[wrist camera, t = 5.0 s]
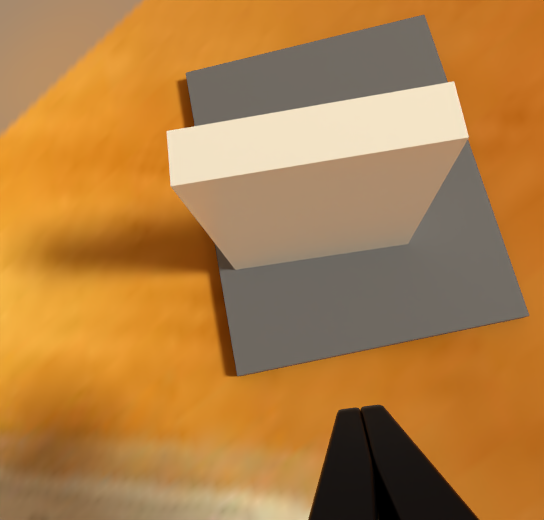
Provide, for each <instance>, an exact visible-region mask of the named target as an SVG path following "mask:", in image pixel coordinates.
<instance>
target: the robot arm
mask: <svg viewBox="0 0 544 520" xmlns="http://www.w3.org/2000/svg"><path fill="white" fill-rule="evenodd" d="M308 520H479V519H478V518H477V516H476V515H475V514H474V513H473V512H472V510H471V509H470V508H469V507H468V506H467V505H466V503H465V502H464V501H463V500H462V499H461V497H460V496H459V495H458V494H457V493H456V492H455V490H454V489H453V488H452V487H451V486H450V485H449V483H448V482H447V481H446V480H445V479H444V477H443V476H442V475H441V474H440V473H439V472H438V470H437V469H436V468H435V467H434V466H433V464H432V463H431V462H430V461H429V460H428V459H427V457H426V456H425V455H424V454H423V453H422V451H421V450H420V449H419V448H418V447H417V446H416V444H415V443H414V442H413V441H412V440H411V438H410V437H409V436H408V435H407V434H406V433H405V431H404V430H403V429H402V428H401V427H400V425H399V424H398V423H397V422H396V421H395V420H394V418H393V417H392V416H391V415H390V414H389V412H388V411H387V410H386V409H385V408H384V407H383V406H381V405H372V406H364V407H362V408H361V410H360V409H359V408H348V409H341V410H339V411H338V413H337V416H336V419H335V423H334V427H333V430H332V434H331V438H330V441H329V445H328V449H327V453H326V456H325V460H324V464H323V467H322V471H321V475H320V478H319V482H318V486H317V489H316V493H315V497H314V500H313V504H312V508H311V512H310V515H309V519H308Z"/></svg>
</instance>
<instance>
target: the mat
mask: <svg viewBox="0 0 544 520" xmlns="http://www.w3.org/2000/svg"><path fill="white" fill-rule="evenodd" d="M186 78H187V83H188V89H189V95H190V101H191V107H192V113H193V119H194V125H195V126H199V125H205V124H211V123H217V122H222V121H228V120H234V119H240V118H246V117H251V116H257V115H263V114H269V113H274V112H280V111H286V110H292V109H298V108H303V107H309V106H315V105H321V104H327V103H332V102H338V101H344V100H350V99H355V98H361V97H367V96H373V95H379V94H384V93H390V92H396V91H402V90H407V89H413V88H419V87H425V86H431V85H436V84H442V83H448V81H447V79H446V76H445V73H444V70H443V67H442V64H441V61H440V59H439V56H438V53H437V50H436V47H435V44H434V41H433V39H432V36H431V33H430V30H429V27H428V24H427V21H426V18H425V16H424V15H421V16H417V17H413V18H409V19H404V20H400V21H396V22H392V23H388V24H384V25H380V26H376V27H372V28H368V29H363V30H359V31H355V32H351V33H347V34H343V35H339V36H335V37H331V38H327V39H323V40H318V41H314V42H310V43H306V44H302V45H298V46H294V47H290V48H286V49H282V50H277V51H273V52H269V53H265V54H261V55H257V56H253V57H249V58H245V59H241V60H236V61H232V62H228V63H224V64H220V65H216V66H212V67H208V68H204V69H200V70H195V71H191V72H187V73H186ZM215 248H216V254H217V260H218V266H219V271H220V277H221V283H222V289H223V295H224V301H225V307H226V313H227V318H228V324H229V330H230V336H231V342H232V348H233V354H234V360H235V365H236V371H237V376H244V375H249V374H253V373H258V372H263V371H268V370H273V369H278V368H282V367H287V366H292V365H297V364H302V363H307V362H311V361H316V360H321V359H326V358H331V357H336V356H340V355H345V354H350V353H355V352H360V351H364V350H369V349H374V348H379V347H384V346H389V345H393V344H398V343H403V342H408V341H413V340H418V339H422V338H427V337H432V336H437V335H442V334H447V333H451V332H456V331H461V330H466V329H471V328H476V327H480V326H485V325H490V324H495V323H500V322H505V321H509V320H514V319H519V318H524V317H527V316H529V313H528V310H527V307H526V305H525V302H524V299H523V296H522V293H521V290H520V287H519V285H518V282H517V279H516V276H515V273H514V270H513V267H512V264H511V262H510V259H509V256H508V253H507V250H506V247H505V244H504V242H503V239H502V236H501V233H500V230H499V227H498V224H497V222H496V219H495V216H494V213H493V210H492V207H491V204H490V202H489V199H488V196H487V193H486V190H485V187H484V184H483V182H482V179H481V176H480V173H479V170H478V167H477V164H476V162H475V159H474V156H473V153H472V150H471V147H470V144H469V141H468V140H467V141H466V143H465V145H464V147H463V148H462V150H461V152H460V154H459V155H458V157H457V159H456V161H455V162H454V164H453V166H452V168H451V169H450V171H449V173H448V175H447V176H446V178H445V180H444V182H443V183H442V185H441V187H440V189H439V191H438V192H437V194H436V196H435V198H434V199H433V201H432V203H431V205H430V206H429V208H428V210H427V212H426V213H425V215H424V217H423V219H422V220H421V222H420V224H419V226H418V227H417V229H416V231H415V233H414V234H413V236H412V238H411V240H410V241H409V243H408V244H405V245H398V246H392V247H385V248H378V249H371V250H365V251H358V252H351V253H345V254H338V255H331V256H325V257H318V258H311V259H305V260H298V261H291V262H284V263H278V264H271V265H264V266H258V267H251V268H244V269H238V270H235V269H234V267H233V266H232V265H231V264H230V262H229V261H228V260H227V258H226V257H225V256H224V254H223V253H222V252H221V251H220V249H219V248H218V247H217V245H216V244H215Z"/></svg>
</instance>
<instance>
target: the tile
mask: <svg viewBox="0 0 544 520" xmlns="http://www.w3.org/2000/svg"><path fill="white" fill-rule="evenodd" d="M468 138H469V136H468V132H467V129H466V125H465V121H464V117H463V114H462V110H461V106H460V102H459V98H458V95H457V91H456V87H455V83H454V82H448V83H442V84H436V85H431V86H425V87H419V88H413V89H407V90H402V91H396V92H390V93H384V94H379V95H373V96H367V97H361V98H355V99H350V100H344V101H338V102H332V103H327V104H321V105H315V106H309V107H303V108H298V109H292V110H286V111H280V112H274V113H269V114H263V115H257V116H251V117H246V118H240V119H234V120H228V121H222V122H217V123H211V124H205V125H199V126H194V127H188V128H182V129H176V130H170V131H167V141H168V155H169V169H170V183H171V187H172V189H173V190H174V191H175V192H176V194H177V195H178V196H179V198H180V199H181V200H182V201H183V203H184V204H185V205H186V207H187V208H188V209H189V211H190V212H191V213H192V214H193V216H194V217H195V218H196V220H197V221H198V222H199V223H200V225H201V226H202V227H203V229H204V230H205V231H206V232H207V234H208V235H209V236H210V238H211V239H212V240H213V242H214V243H215V244H216V245H217V247H218V248H219V249H220V251H221V252H222V253H223V254H224V256H225V257H226V258H227V260H228V261H229V262H230V264H231V265H232V266H233V267H234V269H235V270H238V269H244V268H251V267H258V266H264V265H271V264H278V263H284V262H291V261H298V260H305V259H311V258H318V257H325V256H331V255H338V254H345V253H351V252H358V251H365V250H371V249H378V248H385V247H392V246H398V245H405V244H408V243H409V241H410V240H411V238H412V236H413V234H414V233H415V231H416V229H417V227H418V226H419V224H420V222H421V220H422V219H423V217H424V215H425V213H426V212H427V210H428V208H429V206H430V205H431V203H432V201H433V199H434V198H435V196H436V194H437V192H438V191H439V189H440V187H441V185H442V183H443V182H444V180H445V178H446V176H447V175H448V173H449V171H450V169H451V168H452V166H453V164H454V162H455V161H456V159H457V157H458V155H459V154H460V152H461V150H462V148H463V147H464V145H465V143H466V141H467V140H468Z"/></svg>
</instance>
